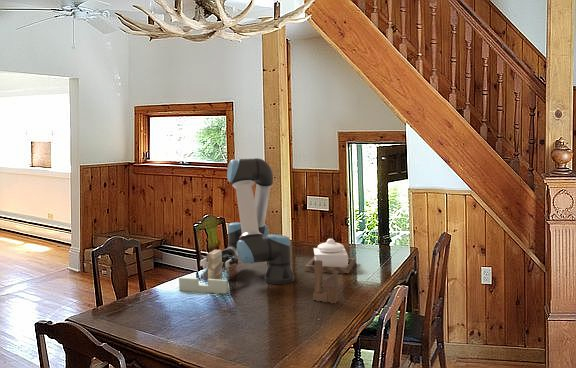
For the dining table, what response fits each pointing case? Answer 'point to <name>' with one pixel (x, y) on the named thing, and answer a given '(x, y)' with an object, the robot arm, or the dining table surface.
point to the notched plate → (215, 264)
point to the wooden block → (325, 285)
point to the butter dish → (331, 254)
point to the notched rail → (194, 285)
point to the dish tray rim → (347, 269)
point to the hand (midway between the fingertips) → (213, 264)
